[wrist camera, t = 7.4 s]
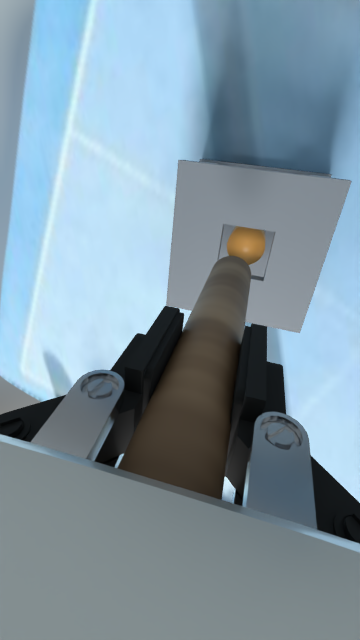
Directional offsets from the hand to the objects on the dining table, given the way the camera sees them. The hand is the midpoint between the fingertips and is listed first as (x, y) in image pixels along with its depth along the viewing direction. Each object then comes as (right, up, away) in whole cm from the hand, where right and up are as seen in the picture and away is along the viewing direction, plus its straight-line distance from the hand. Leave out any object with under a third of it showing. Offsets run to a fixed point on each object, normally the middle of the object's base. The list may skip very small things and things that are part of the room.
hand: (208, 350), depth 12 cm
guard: (+6, +11, +20) cm, 24 cm away
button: (+6, +9, +18) cm, 21 cm away
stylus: (+2, +4, +7) cm, 8 cm away
